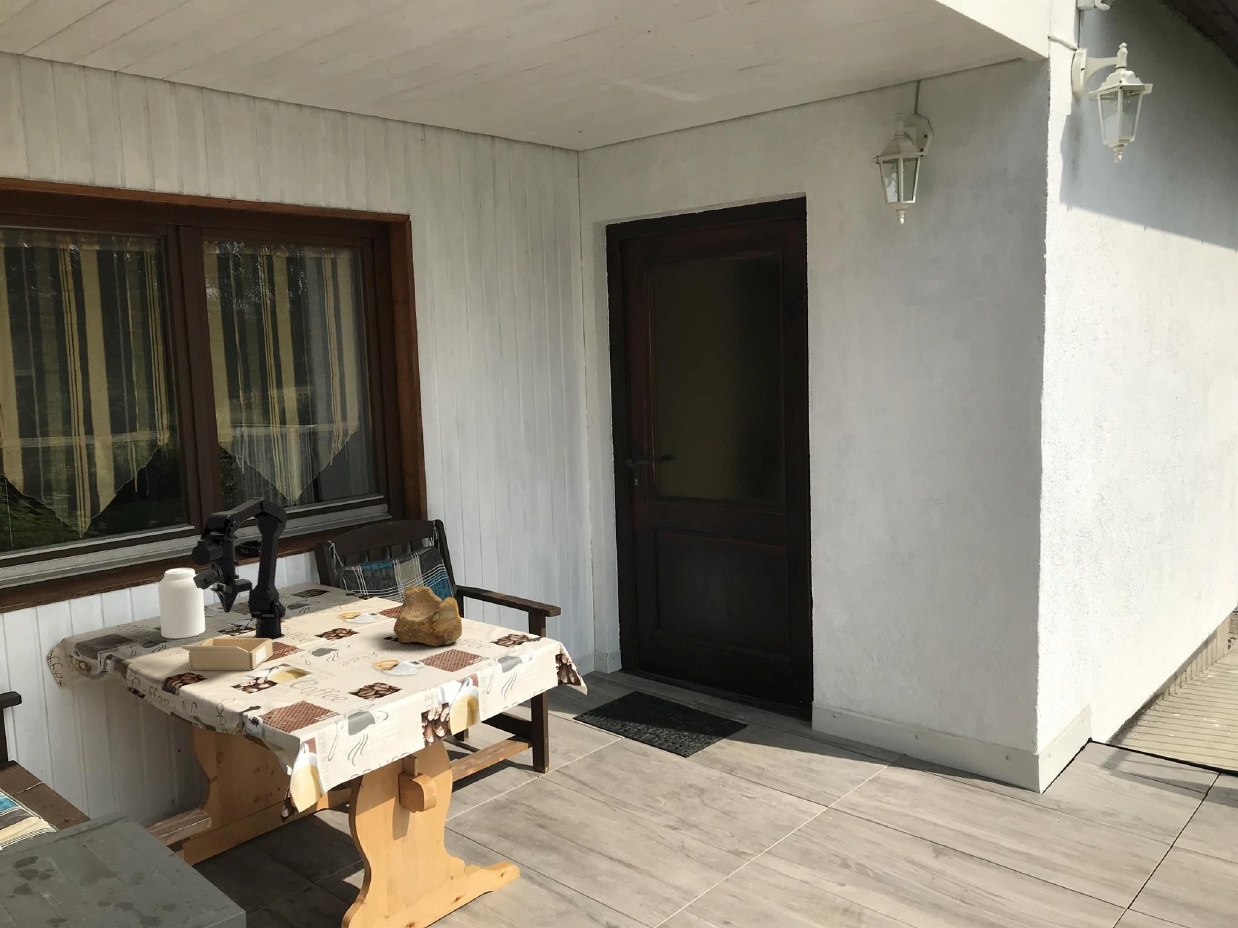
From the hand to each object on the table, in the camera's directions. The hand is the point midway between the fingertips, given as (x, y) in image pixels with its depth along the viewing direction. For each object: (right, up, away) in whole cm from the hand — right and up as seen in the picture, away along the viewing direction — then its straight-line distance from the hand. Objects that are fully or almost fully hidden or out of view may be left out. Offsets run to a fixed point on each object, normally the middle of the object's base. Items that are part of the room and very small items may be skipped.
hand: (227, 612), depth 278 cm
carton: (+3, -13, -4) cm, 14 cm away
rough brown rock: (+52, -11, +15) cm, 55 cm away
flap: (+2, -9, -10) cm, 14 cm away
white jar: (-24, -11, +26) cm, 37 cm away
